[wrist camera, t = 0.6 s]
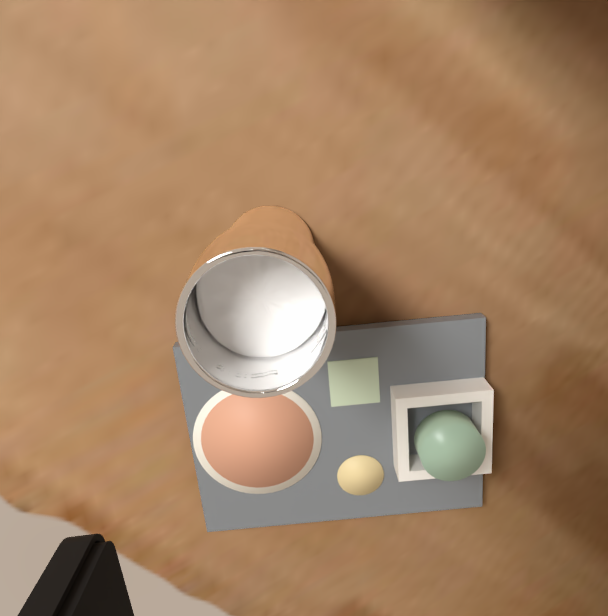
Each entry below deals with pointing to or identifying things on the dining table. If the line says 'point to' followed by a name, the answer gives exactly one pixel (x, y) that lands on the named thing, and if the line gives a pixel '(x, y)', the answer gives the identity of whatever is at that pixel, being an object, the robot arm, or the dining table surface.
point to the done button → (449, 445)
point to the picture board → (342, 429)
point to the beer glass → (258, 306)
